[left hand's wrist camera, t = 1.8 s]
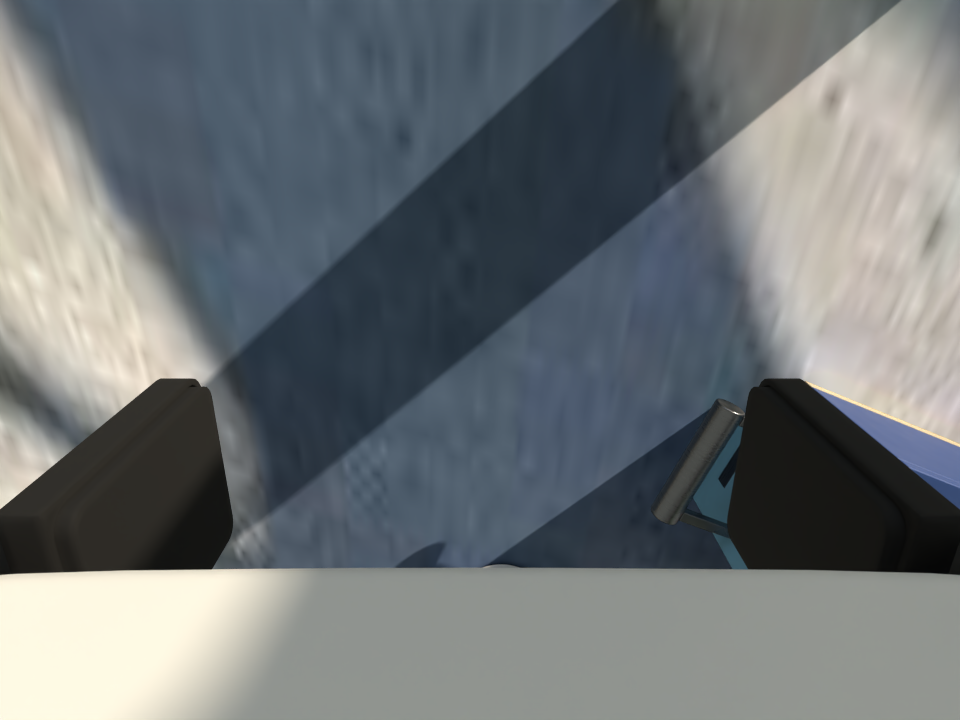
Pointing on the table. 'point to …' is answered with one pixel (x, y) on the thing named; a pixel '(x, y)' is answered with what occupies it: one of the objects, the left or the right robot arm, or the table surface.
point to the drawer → (706, 478)
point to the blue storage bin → (907, 444)
